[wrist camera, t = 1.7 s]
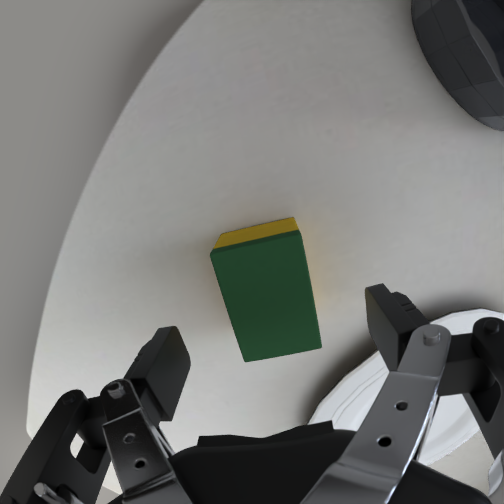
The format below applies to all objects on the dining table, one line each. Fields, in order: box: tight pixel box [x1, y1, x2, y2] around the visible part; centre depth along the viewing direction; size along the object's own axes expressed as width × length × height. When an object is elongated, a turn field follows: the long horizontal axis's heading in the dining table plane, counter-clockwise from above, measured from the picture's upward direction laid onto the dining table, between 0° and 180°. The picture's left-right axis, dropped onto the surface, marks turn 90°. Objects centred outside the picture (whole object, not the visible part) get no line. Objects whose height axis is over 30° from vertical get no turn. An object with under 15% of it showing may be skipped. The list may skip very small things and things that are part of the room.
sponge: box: [210, 217, 322, 362], centre depth 15 cm, size 6×4×4 cm, turn 14°
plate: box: [307, 308, 504, 466], centre depth 19 cm, size 21×21×2 cm
